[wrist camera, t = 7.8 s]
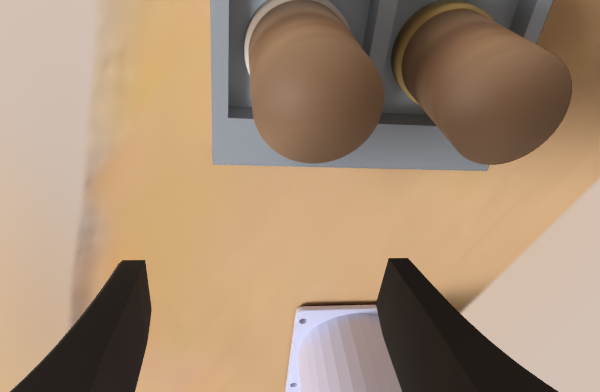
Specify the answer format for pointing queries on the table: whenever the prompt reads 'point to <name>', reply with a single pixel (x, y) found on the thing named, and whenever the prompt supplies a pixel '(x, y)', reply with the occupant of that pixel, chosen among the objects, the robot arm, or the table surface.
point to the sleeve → (480, 81)
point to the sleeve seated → (310, 81)
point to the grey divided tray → (378, 46)
